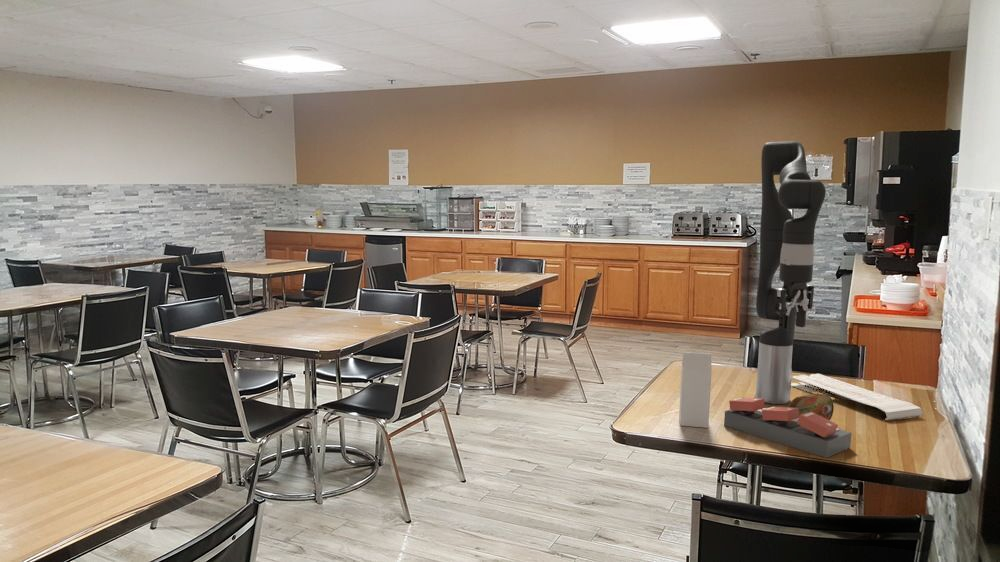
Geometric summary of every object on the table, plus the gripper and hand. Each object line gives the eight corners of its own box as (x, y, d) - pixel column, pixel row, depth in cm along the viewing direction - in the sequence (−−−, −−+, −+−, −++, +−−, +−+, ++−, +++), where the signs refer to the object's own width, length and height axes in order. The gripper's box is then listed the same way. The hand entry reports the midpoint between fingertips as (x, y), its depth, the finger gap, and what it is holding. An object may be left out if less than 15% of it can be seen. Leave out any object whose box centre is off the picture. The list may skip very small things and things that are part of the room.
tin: (794, 431, 187) (796, 400, 186) (784, 428, 190) (786, 396, 189) (833, 424, 194) (836, 393, 193) (823, 420, 197) (825, 390, 196)
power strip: (748, 418, 198) (749, 401, 197) (850, 448, 176) (851, 429, 175) (724, 425, 191) (725, 408, 190) (826, 458, 169) (828, 438, 168)
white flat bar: (817, 370, 237) (924, 407, 200) (816, 382, 238) (923, 420, 201) (786, 373, 233) (889, 411, 196) (785, 385, 234) (888, 424, 197)
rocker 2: (773, 416, 185) (772, 406, 185) (799, 417, 180) (798, 407, 180) (762, 419, 182) (761, 409, 182) (788, 421, 177) (787, 410, 177)
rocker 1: (741, 406, 193) (740, 397, 193) (765, 407, 187) (763, 398, 187) (730, 410, 190) (729, 400, 190) (753, 411, 184) (752, 401, 184)
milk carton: (708, 428, 188) (712, 356, 186) (680, 426, 190) (683, 355, 187) (706, 420, 195) (710, 350, 193) (679, 417, 197) (682, 349, 194)
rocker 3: (808, 420, 178) (811, 410, 177) (835, 433, 173) (837, 424, 172) (797, 423, 175) (800, 414, 174) (824, 437, 170) (827, 428, 169)
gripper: (798, 259, 185) (793, 323, 187) (766, 262, 176) (761, 329, 178) (826, 262, 179) (821, 328, 181) (794, 265, 170) (789, 334, 172)
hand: (791, 328), depth 180 cm, fingers open, 7 cm apart
